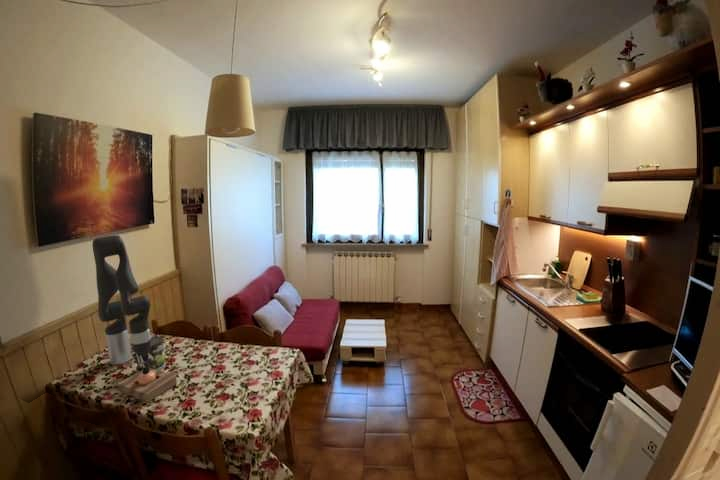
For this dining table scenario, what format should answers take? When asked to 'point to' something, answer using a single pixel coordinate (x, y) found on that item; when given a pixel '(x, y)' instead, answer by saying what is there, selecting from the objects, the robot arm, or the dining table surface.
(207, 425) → the dining table surface
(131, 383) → the wooden board
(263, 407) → the dining table surface
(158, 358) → the coffee can
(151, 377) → the pink flattened oval
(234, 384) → the dining table surface
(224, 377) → the dining table surface
